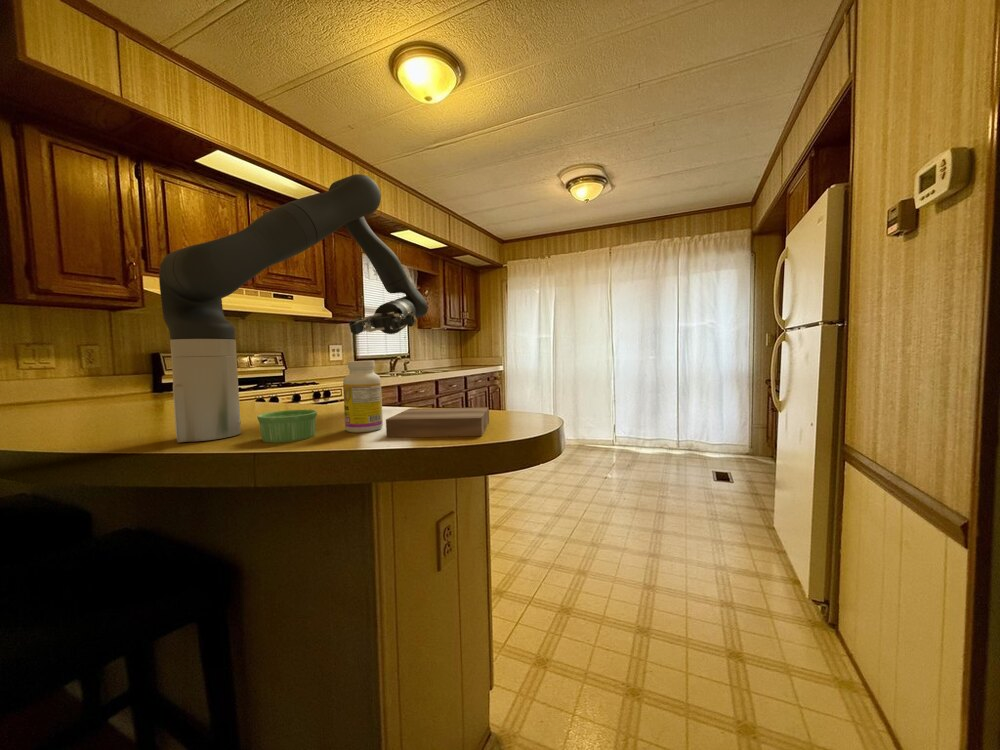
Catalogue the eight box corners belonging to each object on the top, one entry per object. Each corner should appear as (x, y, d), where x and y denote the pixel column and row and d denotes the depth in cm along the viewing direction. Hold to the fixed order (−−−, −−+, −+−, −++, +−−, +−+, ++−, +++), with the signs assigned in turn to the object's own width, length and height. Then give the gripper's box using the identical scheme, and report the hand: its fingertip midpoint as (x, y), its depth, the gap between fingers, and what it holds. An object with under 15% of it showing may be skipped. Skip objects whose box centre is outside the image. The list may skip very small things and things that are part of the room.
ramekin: (247, 445, 63) (245, 418, 62) (274, 434, 72) (273, 410, 71) (305, 443, 63) (304, 416, 63) (325, 432, 72) (324, 408, 72)
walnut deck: (481, 436, 64) (481, 418, 64) (386, 437, 65) (385, 419, 65) (489, 422, 77) (488, 407, 77) (409, 423, 78) (409, 408, 78)
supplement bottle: (349, 427, 76) (345, 361, 75) (384, 425, 77) (381, 360, 76) (342, 434, 69) (338, 361, 68) (381, 432, 70) (377, 360, 70)
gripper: (363, 304, 98) (337, 313, 82) (419, 298, 97) (403, 306, 82) (369, 333, 100) (345, 348, 84) (424, 328, 99) (410, 341, 84)
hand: (374, 327), depth 83 cm, fingers open, 8 cm apart
